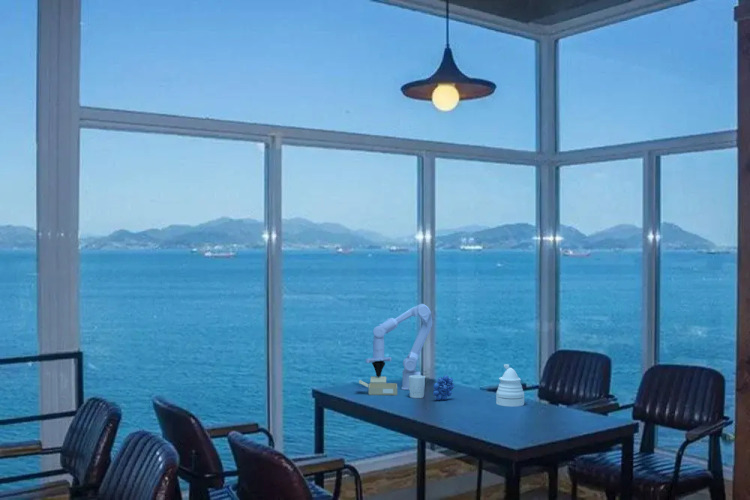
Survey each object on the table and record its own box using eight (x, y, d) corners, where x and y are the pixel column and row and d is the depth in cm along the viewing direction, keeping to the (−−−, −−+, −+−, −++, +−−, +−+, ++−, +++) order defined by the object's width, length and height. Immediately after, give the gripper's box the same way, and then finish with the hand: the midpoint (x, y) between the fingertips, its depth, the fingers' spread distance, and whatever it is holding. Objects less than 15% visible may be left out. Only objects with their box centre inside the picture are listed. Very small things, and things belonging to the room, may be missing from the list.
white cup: (425, 395, 377) (425, 375, 377) (424, 398, 369) (424, 377, 369) (409, 395, 377) (409, 375, 377) (408, 398, 370) (408, 377, 370)
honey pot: (492, 404, 355) (492, 365, 356) (501, 400, 367) (501, 362, 367) (519, 407, 349) (519, 367, 350) (527, 402, 361) (527, 364, 361)
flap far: (368, 384, 386) (359, 379, 386) (368, 387, 378) (359, 382, 378) (368, 384, 386) (359, 380, 386) (367, 387, 378) (358, 382, 378)
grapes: (449, 397, 372) (449, 373, 372) (456, 400, 365) (456, 375, 366) (428, 399, 366) (428, 374, 366) (435, 402, 360) (436, 376, 360)
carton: (396, 390, 391) (396, 383, 391) (397, 395, 377) (397, 388, 377) (369, 389, 392) (369, 383, 392) (368, 395, 377) (368, 387, 378)
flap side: (386, 382, 392) (386, 376, 396) (386, 382, 392) (386, 376, 396) (370, 382, 392) (370, 376, 396) (370, 382, 392) (370, 376, 396)
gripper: (370, 351, 389) (370, 378, 388) (394, 349, 396) (394, 376, 396) (363, 349, 395) (363, 376, 395) (387, 348, 402) (387, 374, 402)
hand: (378, 376), depth 396 cm, fingers closed
